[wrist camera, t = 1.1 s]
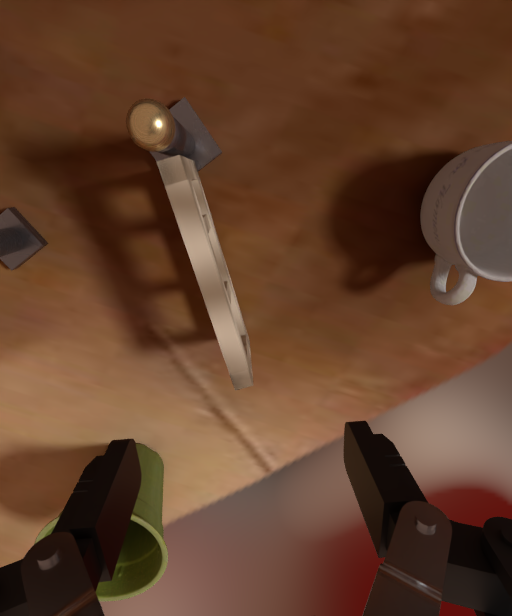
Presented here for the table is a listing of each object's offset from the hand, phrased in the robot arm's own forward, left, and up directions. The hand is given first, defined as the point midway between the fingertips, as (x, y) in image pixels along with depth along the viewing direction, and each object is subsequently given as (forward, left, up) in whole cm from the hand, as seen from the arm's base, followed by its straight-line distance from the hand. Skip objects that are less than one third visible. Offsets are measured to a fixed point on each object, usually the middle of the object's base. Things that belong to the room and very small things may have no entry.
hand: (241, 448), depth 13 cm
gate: (0, -3, -22) cm, 22 cm away
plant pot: (+24, +11, -24) cm, 35 cm away
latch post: (+14, -15, -23) cm, 31 cm away
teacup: (-20, +7, -24) cm, 32 cm away
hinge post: (-3, -13, -23) cm, 27 cm away
